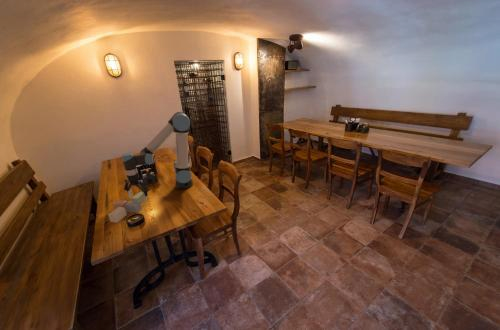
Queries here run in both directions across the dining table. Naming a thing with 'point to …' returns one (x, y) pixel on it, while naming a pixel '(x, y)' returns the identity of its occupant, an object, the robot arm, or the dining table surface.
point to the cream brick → (117, 214)
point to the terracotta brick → (119, 204)
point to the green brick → (138, 197)
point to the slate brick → (133, 207)
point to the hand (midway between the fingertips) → (138, 198)
